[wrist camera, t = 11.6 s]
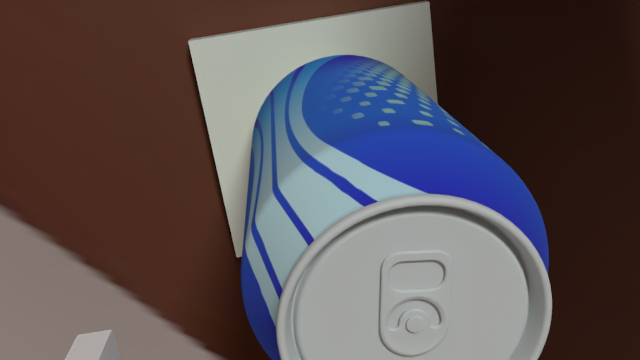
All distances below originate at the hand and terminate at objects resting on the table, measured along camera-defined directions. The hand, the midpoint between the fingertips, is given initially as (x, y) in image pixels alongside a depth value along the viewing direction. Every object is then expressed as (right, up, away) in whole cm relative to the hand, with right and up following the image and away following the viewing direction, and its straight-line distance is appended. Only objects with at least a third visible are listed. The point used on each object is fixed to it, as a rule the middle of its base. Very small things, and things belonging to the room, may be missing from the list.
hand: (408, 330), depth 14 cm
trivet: (-2, +6, +16) cm, 17 cm away
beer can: (-1, +5, +16) cm, 17 cm away
